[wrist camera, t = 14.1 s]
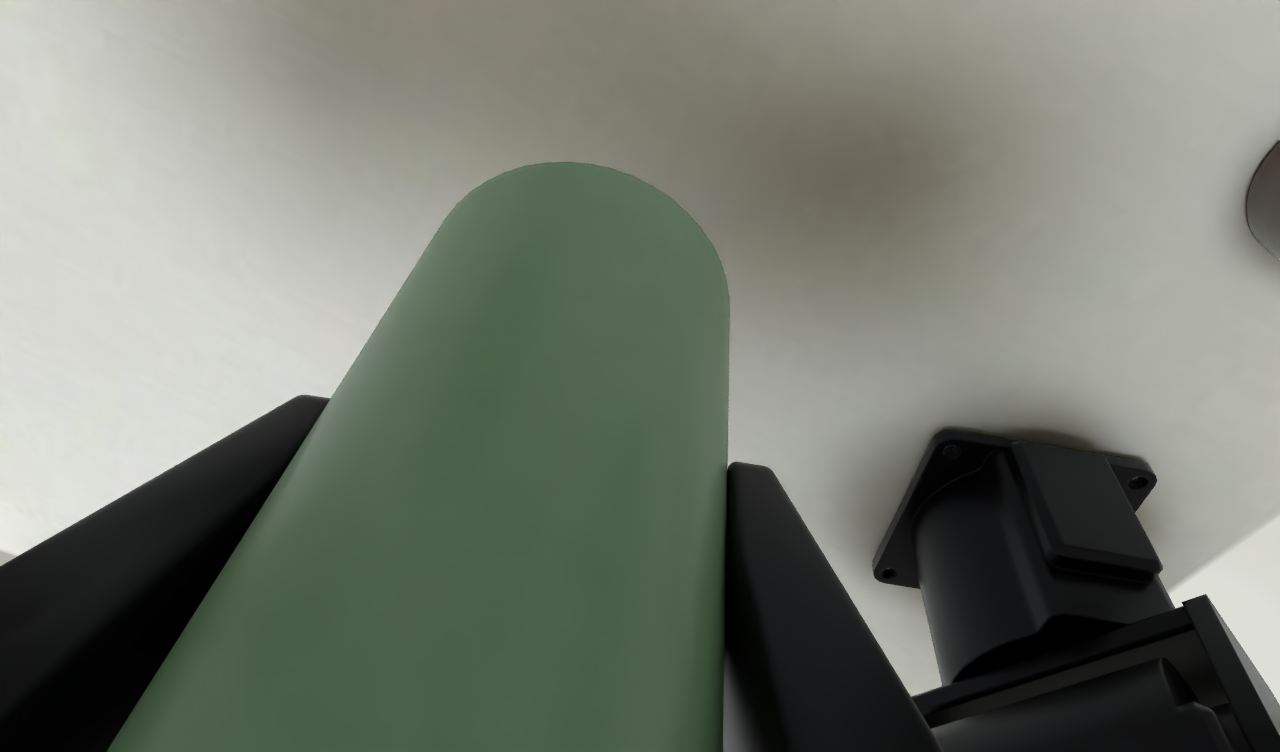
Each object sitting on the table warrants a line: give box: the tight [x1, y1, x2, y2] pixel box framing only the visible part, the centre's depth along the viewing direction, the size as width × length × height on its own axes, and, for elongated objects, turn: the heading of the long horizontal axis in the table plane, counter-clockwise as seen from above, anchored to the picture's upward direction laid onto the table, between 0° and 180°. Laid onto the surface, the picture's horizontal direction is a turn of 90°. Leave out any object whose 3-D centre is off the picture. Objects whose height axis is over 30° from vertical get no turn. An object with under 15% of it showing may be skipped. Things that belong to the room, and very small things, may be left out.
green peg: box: [107, 162, 730, 752], centre depth 7 cm, size 4×4×10 cm
